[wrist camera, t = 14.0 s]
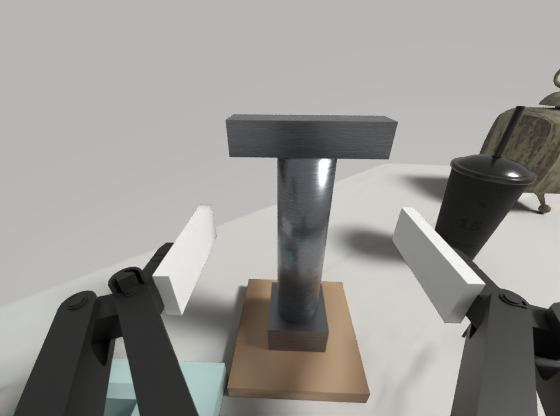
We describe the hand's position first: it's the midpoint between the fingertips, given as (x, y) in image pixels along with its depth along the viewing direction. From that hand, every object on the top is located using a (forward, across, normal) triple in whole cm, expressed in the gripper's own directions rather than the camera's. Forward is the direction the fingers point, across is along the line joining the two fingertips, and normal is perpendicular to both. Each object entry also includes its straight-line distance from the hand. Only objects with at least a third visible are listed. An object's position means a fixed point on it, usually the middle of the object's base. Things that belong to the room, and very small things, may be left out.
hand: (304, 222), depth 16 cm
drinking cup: (+12, +22, -14) cm, 29 cm away
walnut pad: (0, 0, -14) cm, 14 cm away
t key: (0, 0, -12) cm, 12 cm away
